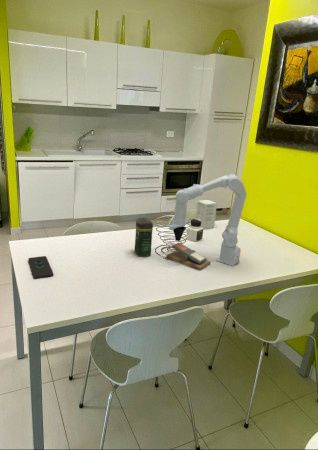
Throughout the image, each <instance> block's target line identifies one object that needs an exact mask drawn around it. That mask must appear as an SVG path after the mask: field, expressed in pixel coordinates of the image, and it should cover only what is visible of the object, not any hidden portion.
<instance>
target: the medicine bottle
mask: <svg viewBox="0 0 318 450" xmlns="http://www.w3.org/2000/svg"><path fill="white" fill-rule="evenodd" d="M190 229H191V231H190ZM187 231H189V232H187ZM186 235H189V236H188V238H187V239H186V240H189V241H191V242H194V243H197V242H199V241H201V240H203V236H204V229H203V228H202V227H201V220H199V219H196V218H192V219H190V225H189V226H188V227H187V228H186Z"/></svg>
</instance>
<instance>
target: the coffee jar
mask: <svg viewBox="0 0 318 450" xmlns="http://www.w3.org/2000/svg"><path fill="white" fill-rule="evenodd" d="M153 229H154V223H153V222H152V220H150V219H148V218H147V217H138V218H137V219H136V221H135V236H134V237H135V238H134V239H135V240H134V253H135V254H136V255H137V256H138V257H142V258H143V257H144V258H145V257H149V256H151V254H152V242H153V240H152V239H153Z"/></svg>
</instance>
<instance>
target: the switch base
mask: <svg viewBox="0 0 318 450" xmlns="http://www.w3.org/2000/svg"><path fill="white" fill-rule="evenodd" d="M192 250H193V249H192ZM193 251H195V252H196V250H193ZM196 253H197V252H196ZM165 258H166V259H168V260H170V261H173V262H175V263H178V264H180V265H184V266H186V267H189V268H191V269H194V270H197V271H202V270H204V269H205V268H207V267H208V266H210V265H211V261H210V260H208V259H206V261H204V262H202V263H201V264H198V263H197V262H195V261H193V260H192V259H190V258H188V256H187V255H184V254H182V253H180V252H178V251H177V250H174V251H172V252H170V253H168V254H166V256H165Z"/></svg>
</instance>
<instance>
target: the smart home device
mask: <svg viewBox="0 0 318 450" xmlns="http://www.w3.org/2000/svg"><path fill="white" fill-rule="evenodd" d="M27 259H28V263H29V267H30V269H31V274H32V276H33V279H34V280H38V279H48V278H52V277H54V272H53V271H54V270H53V269H52V267H51V265H50V262H49V260H48V258H47V256H46V255H42V256H34V257H33V256H32V257H28V258H27Z"/></svg>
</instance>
